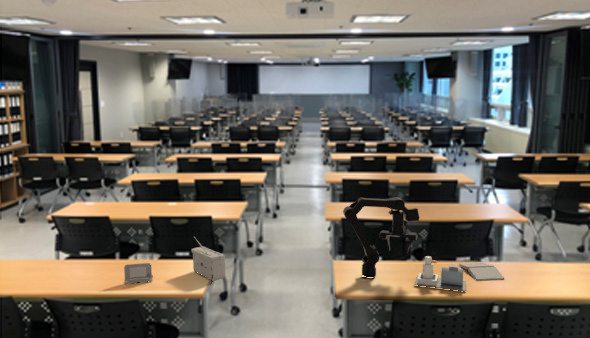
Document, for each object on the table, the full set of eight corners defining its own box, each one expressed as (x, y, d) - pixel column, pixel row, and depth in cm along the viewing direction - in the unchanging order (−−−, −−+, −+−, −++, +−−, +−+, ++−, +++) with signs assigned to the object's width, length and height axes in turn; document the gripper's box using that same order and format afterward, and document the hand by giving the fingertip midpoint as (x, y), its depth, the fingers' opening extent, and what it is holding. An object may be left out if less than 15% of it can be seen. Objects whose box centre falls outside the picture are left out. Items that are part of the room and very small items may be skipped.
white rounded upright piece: (421, 282, 252) (422, 258, 250) (422, 278, 257) (423, 255, 255) (435, 284, 250) (436, 259, 248) (436, 280, 254) (437, 256, 253)
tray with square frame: (414, 286, 249) (414, 266, 248) (417, 277, 262) (417, 257, 260) (465, 292, 241) (466, 271, 240) (466, 282, 253) (467, 262, 252)
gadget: (504, 280, 258) (505, 273, 257) (476, 281, 257) (476, 274, 256) (485, 265, 280) (485, 259, 280) (458, 266, 279) (458, 259, 279)
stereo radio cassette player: (226, 278, 262) (225, 241, 259) (212, 282, 257) (211, 244, 254) (204, 268, 278) (203, 233, 274) (191, 272, 272) (189, 236, 269)
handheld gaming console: (153, 275, 267) (152, 257, 266) (152, 282, 259) (150, 263, 257) (127, 278, 265) (125, 259, 263) (125, 284, 256) (123, 265, 254)
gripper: (419, 219, 264) (419, 248, 266) (383, 217, 271) (383, 245, 273) (415, 224, 253) (415, 254, 256) (378, 222, 260) (379, 251, 263)
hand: (398, 251), depth 262 cm, fingers open, 9 cm apart
